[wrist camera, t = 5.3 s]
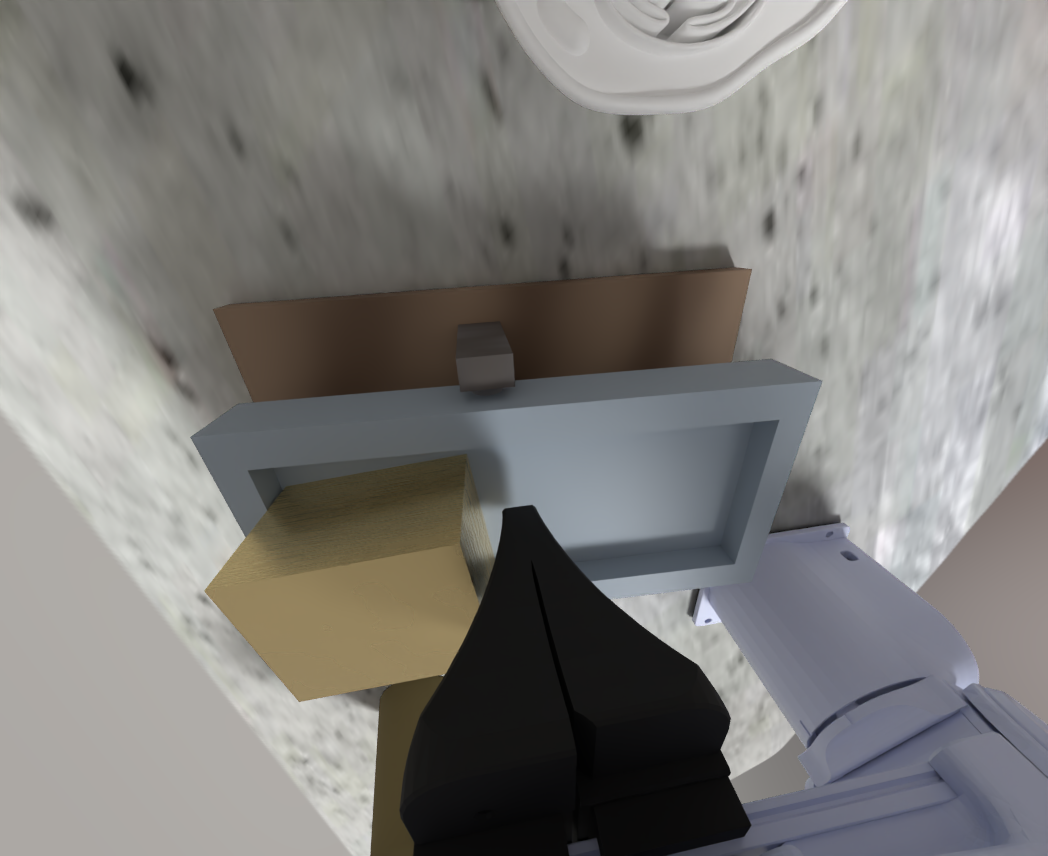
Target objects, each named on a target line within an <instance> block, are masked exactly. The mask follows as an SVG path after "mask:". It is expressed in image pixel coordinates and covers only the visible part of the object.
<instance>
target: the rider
mask: <svg viewBox="0 0 1048 856" xmlns="http://www.w3.org/2000/svg"><path fill="white" fill-rule="evenodd" d="M494 562H495V558H494V554H493V550H492V546H491V543H490V539H489V535H488V531H487V528H486V524H485V520H484V516H483V513H482V509H481V505H480V502H479V498H478V494H477V490H476V487H475V483H474V479H473V475H472V472H471V468H470V464H469V460H468V457H467V454H462V455H457V456H451V457H446V458H440V459H435V460H429V461H424V462H418V463H413V464H407V465H402V466H396V467H391V468H385V469H380V470H374V471H369V472H363V473H358V474H352V475H347V476H341V477H336V478H330V479H325V480H319V481H314V482H308V483H303V484H297V485H292V486H286V487H285V488H284V490H283V491H282V492H281V493H280V495H279V496H278V497H277V498H276V500H275V501H274V502H273V504H272V505H271V506H270V507H269V509H268V510H267V511H266V513H265V514H264V515H263V516H262V518H261V519H260V520H259V522H258V523H257V524H256V525H255V527H254V528H253V529H252V530H251V532H250V533H249V534H248V536H247V537H246V538H245V539H244V541H243V542H242V543H241V545H240V546H239V547H238V548H237V550H236V551H235V552H234V554H233V555H232V556H231V557H230V559H229V560H228V561H227V562H226V564H225V565H224V566H223V568H222V569H221V570H220V571H219V573H218V574H217V575H216V577H215V578H214V579H213V580H212V582H211V583H210V584H209V585H208V587H207V588H206V589H205V592H206V594H207V595H208V596H209V597H210V598H211V599H212V601H213V602H214V603H215V604H216V605H217V606H218V608H219V609H220V610H221V611H222V612H223V613H224V615H225V616H226V617H227V618H228V619H229V620H230V622H231V623H232V624H233V625H234V626H235V627H236V629H237V630H238V631H239V632H240V633H241V634H242V636H243V637H244V638H245V639H246V640H247V641H248V643H249V644H250V645H251V646H252V647H253V648H254V650H255V651H256V652H257V653H258V654H259V655H260V657H261V658H262V659H263V660H264V661H265V662H266V664H267V665H268V666H269V667H270V668H271V669H272V671H273V672H274V673H275V674H276V675H277V676H278V678H279V679H280V680H281V681H282V682H283V683H284V685H285V686H286V687H287V688H288V689H289V690H290V692H291V693H292V694H293V695H294V696H295V697H296V699H297V700H298V701H299V702H301V701H306V700H311V699H317V698H322V697H327V696H332V695H338V694H343V693H348V692H354V691H359V690H364V689H369V688H375V687H380V686H385V685H390V684H396V683H401V682H406V681H411V680H417V679H422V678H427V677H433V676H438V675H443V674H446V672H447V670H448V669H449V667H450V665H451V663H452V661H453V659H454V657H455V656H456V654H457V652H458V650H459V648H460V646H461V645H462V643H463V641H464V639H465V637H466V634H467V632H468V630H469V628H470V626H471V624H472V621H473V619H474V617H475V615H476V613H477V610H478V608H479V605H480V603H481V600H482V598H483V595H484V593H485V590H486V587H487V584H488V581H489V578H490V575H491V572H492V568H493V565H494Z"/></svg>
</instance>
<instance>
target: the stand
mask: <svg viewBox="0 0 1048 856" xmlns="http://www.w3.org/2000/svg"><path fill="white" fill-rule="evenodd" d="M751 271H752V269H745V268H737V267H734V268H720V269H707V270H693V271H679V272H666V273H652V274H638V275H625V276H611V277H598V278H584V279H570V280H557V281H543V282H529V283H516V284H502V285H488V286H475V287H461V288H448V289H434V290H420V291H407V292H393V293H379V294H366V295H352V296H338V297H325V298H311V299H297V300H284V301H270V302H257V303H243V304H229V305H226V306H222V307H219V308H216V309H213V311H214V313H215V315H216V318H217V320H218V322H219V324H220V327H221V329H222V331H223V334H224V336H225V338H226V341H227V343H228V345H229V347H230V350H231V352H232V354H233V357H234V359H235V361H236V363H237V366H238V368H239V370H240V373H241V375H242V377H243V379H244V382H245V384H246V386H247V389H248V391H249V393H250V396H251V398H252V400H253V402H266V401H278V400H290V399H301V398H313V397H325V396H337V395H349V394H361V393H373V392H385V391H396V390H408V389H420V388H432V387H444V386H456V385H459V386H460V392H468V391H478V390H487V389H497V388H507V387H515V380H527V379H539V378H551V377H563V376H575V375H587V374H599V373H610V372H622V371H634V370H646V369H658V368H670V367H682V366H694V365H706V364H717V363H729V362H731V361H732V357H733V352H734V348H735V343H736V339H737V334H738V330H739V325H740V321H741V316H742V312H743V307H744V303H745V298H746V294H747V289H748V285H749V280H750V276H751Z"/></svg>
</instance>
